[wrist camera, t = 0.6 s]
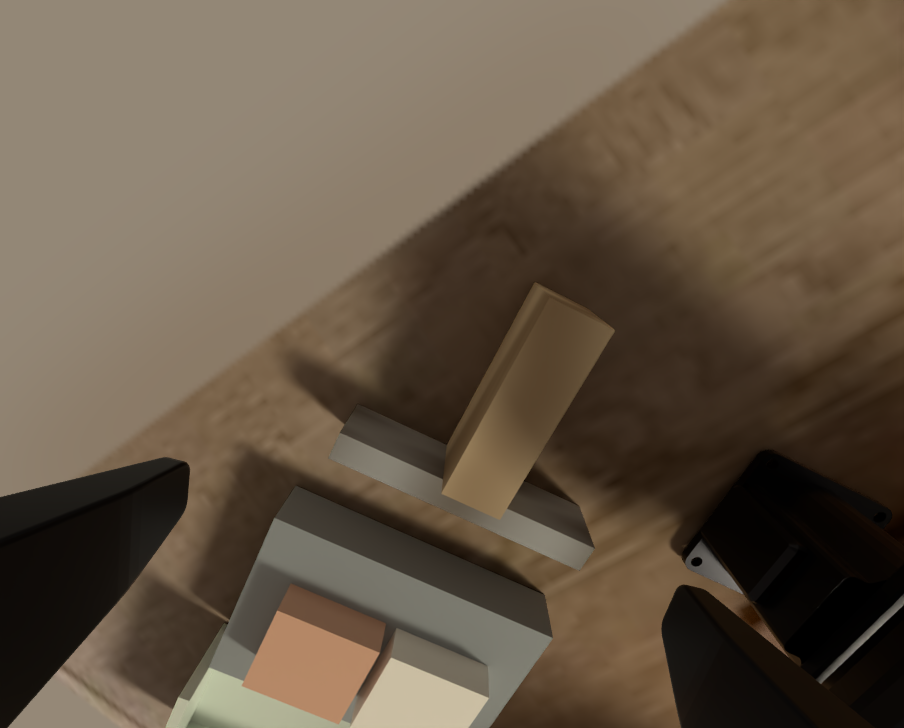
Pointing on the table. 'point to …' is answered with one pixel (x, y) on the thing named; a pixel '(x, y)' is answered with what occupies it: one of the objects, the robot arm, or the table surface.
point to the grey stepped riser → (388, 594)
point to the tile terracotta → (315, 654)
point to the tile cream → (421, 687)
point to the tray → (234, 703)
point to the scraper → (497, 433)
